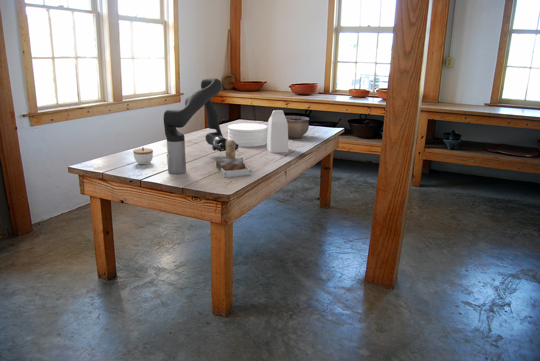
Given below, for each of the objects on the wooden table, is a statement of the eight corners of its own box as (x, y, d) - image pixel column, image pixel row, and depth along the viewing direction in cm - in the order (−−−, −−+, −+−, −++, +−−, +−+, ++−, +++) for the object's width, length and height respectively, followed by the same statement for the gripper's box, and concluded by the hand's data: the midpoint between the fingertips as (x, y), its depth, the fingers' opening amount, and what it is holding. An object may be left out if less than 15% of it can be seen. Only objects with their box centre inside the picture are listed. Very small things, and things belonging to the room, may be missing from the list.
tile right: (239, 169, 228) (239, 172, 229) (241, 171, 225) (242, 174, 226) (246, 168, 229) (246, 172, 230) (248, 170, 226) (248, 174, 227)
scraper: (221, 165, 229) (221, 143, 226) (219, 162, 234) (218, 141, 231) (243, 163, 234) (242, 141, 230) (240, 161, 239) (239, 139, 235)
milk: (270, 152, 276) (270, 111, 268) (266, 148, 286) (267, 109, 279) (288, 151, 278) (289, 111, 270) (284, 148, 289) (285, 109, 281)
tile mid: (232, 169, 227) (232, 173, 227) (234, 171, 224) (234, 175, 224) (238, 169, 228) (238, 172, 229) (240, 171, 225) (240, 174, 226)
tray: (224, 177, 222) (224, 172, 221) (220, 173, 229) (220, 168, 228) (250, 175, 226) (250, 169, 225) (246, 171, 233) (246, 165, 233)
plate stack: (244, 137, 324) (244, 121, 321) (275, 141, 309) (275, 125, 305) (219, 143, 302) (219, 127, 299) (251, 148, 287) (251, 131, 284)
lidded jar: (157, 162, 249) (156, 146, 246) (143, 166, 240) (142, 150, 238) (144, 160, 254) (143, 144, 252) (130, 164, 246) (128, 148, 243)
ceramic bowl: (277, 134, 333) (278, 115, 329) (305, 134, 336) (306, 115, 331) (281, 140, 312) (282, 119, 308) (311, 140, 315) (311, 119, 310)
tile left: (224, 170, 225) (224, 174, 226) (226, 172, 222) (226, 176, 223) (231, 170, 227) (231, 173, 227) (233, 171, 223) (233, 175, 224)
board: (221, 173, 229) (221, 166, 228) (216, 167, 240) (216, 160, 238) (245, 171, 233) (245, 164, 232) (238, 165, 244) (238, 159, 243)
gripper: (208, 137, 247) (215, 143, 233) (232, 136, 252) (240, 141, 238) (209, 150, 250) (215, 156, 235) (233, 148, 254) (241, 154, 240)
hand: (228, 149), depth 236 cm, fingers open, 8 cm apart
